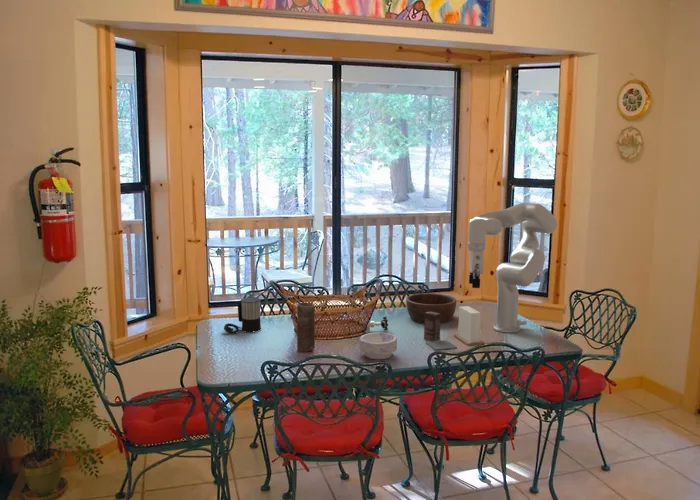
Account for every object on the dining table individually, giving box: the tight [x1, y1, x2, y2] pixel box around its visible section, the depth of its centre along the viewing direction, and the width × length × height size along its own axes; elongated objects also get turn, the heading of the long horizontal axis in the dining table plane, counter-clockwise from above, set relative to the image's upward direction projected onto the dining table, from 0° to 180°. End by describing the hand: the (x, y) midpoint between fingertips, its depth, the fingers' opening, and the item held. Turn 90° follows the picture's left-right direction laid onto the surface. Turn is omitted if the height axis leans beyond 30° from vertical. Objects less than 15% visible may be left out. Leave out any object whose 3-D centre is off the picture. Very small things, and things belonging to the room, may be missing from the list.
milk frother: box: [223, 296, 262, 334], centre depth 279 cm, size 14×16×15 cm
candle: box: [296, 301, 316, 353], centre depth 251 cm, size 8×7×20 cm
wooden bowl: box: [405, 292, 457, 324], centre depth 301 cm, size 25×25×10 cm
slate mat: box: [425, 339, 457, 351], centre depth 258 cm, size 10×10×1 cm
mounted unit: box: [453, 305, 485, 347], centre depth 265 cm, size 8×14×14 cm, turn 15°
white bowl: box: [359, 331, 398, 360], centre depth 245 cm, size 15×15×8 cm
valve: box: [366, 316, 389, 333], centre depth 280 cm, size 7×7×12 cm
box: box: [423, 312, 441, 342], centre depth 267 cm, size 6×4×12 cm
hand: (474, 285), depth 263 cm, fingers open, 9 cm apart
